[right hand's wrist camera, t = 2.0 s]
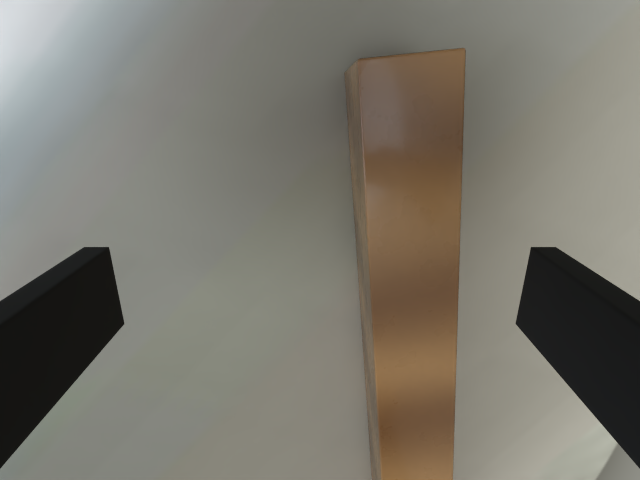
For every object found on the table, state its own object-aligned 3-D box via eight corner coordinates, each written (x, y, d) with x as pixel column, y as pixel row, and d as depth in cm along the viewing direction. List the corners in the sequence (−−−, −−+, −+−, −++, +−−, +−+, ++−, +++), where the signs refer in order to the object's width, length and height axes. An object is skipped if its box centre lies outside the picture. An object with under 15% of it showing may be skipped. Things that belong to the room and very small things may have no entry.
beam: (344, 71, 23) (357, 58, 15) (415, 64, 23) (466, 47, 15) (381, 625, 42) (396, 748, 34) (421, 623, 42) (445, 746, 34)
